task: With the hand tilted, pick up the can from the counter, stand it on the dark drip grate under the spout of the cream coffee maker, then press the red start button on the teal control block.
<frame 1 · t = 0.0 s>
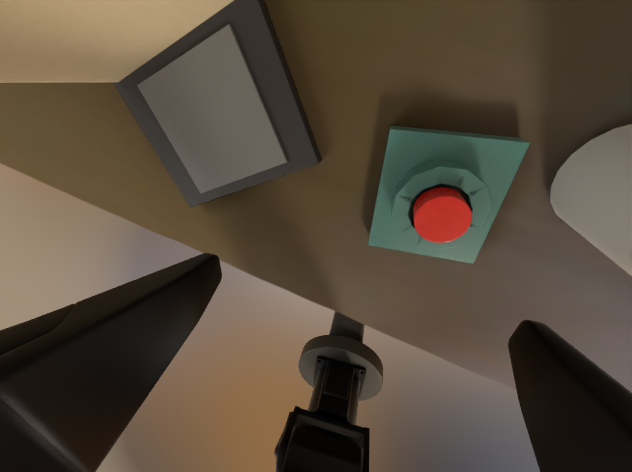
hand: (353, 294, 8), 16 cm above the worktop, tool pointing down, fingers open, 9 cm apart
coffee maker: (221, 121, 23), on the worktop
can: (607, 176, 18), on the worktop
start button: (440, 215, 18), point 4 cm above the worktop, slide at 0.2 cm
control block: (432, 194, 22), on the worktop
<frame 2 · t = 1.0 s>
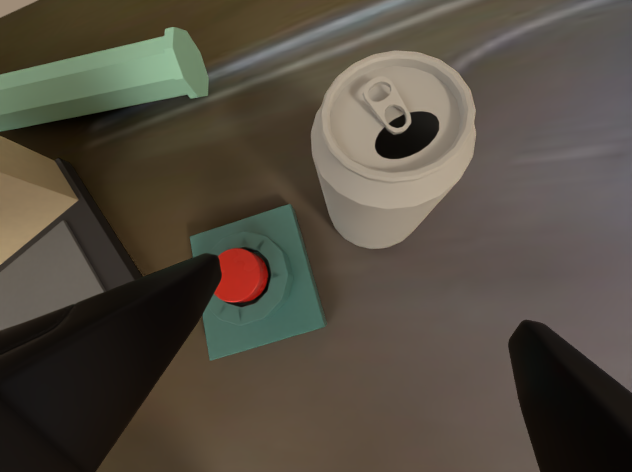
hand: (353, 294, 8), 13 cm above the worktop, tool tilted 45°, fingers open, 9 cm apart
container: (104, 106, 29), on the worktop
coffee maker: (58, 297, 24), on the worktop
can: (373, 208, 22), on the worktop
start button: (239, 275, 18), point 4 cm above the worktop, slide at 0.2 cm
control block: (259, 279, 22), on the worktop
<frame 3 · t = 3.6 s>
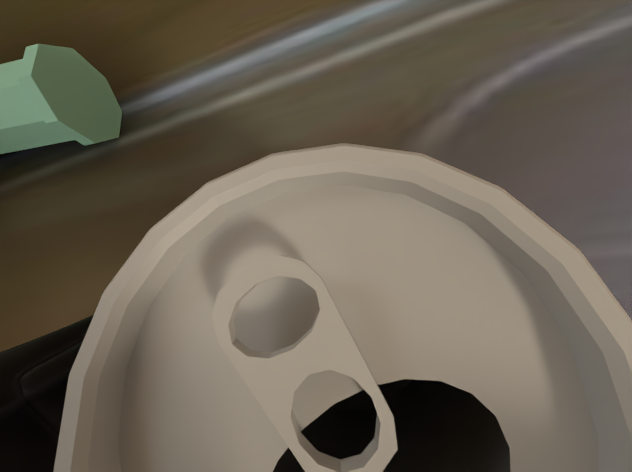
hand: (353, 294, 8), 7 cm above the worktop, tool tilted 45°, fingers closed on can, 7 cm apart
can: (347, 324, 14), on the worktop, touching gripper
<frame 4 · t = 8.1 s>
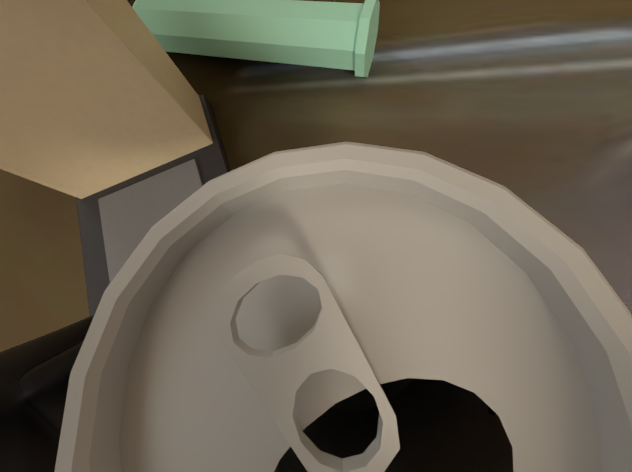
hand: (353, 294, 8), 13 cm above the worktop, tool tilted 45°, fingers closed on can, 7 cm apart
container: (256, 55, 28), on the worktop
coffee maker: (167, 230, 24), on the worktop
can: (347, 324, 14), point 6 cm above the worktop, touching gripper
when the fingers open (8 cm above the worktop, at t = 13.0 s): can stays where it is, resting on coffee maker.
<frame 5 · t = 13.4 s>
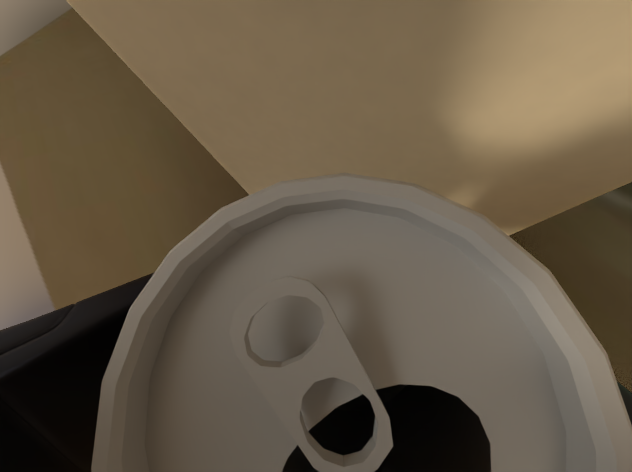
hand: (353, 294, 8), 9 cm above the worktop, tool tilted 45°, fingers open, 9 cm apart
coffee maker: (348, 322, 16), on the worktop
can: (347, 326, 14), point 1 cm above the worktop, touching coffee maker
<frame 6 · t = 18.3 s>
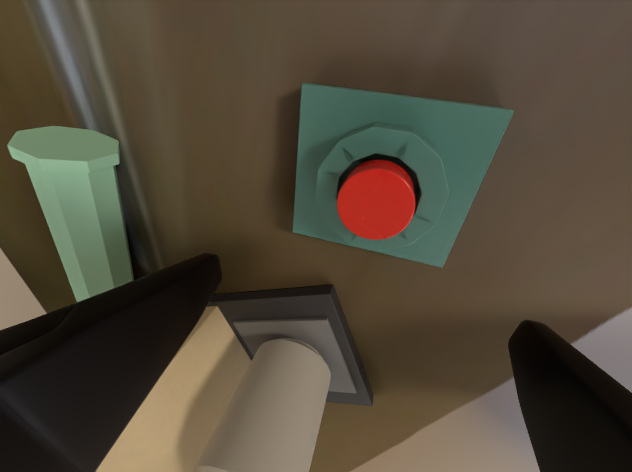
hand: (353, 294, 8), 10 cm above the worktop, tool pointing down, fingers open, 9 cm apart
container: (125, 252, 28), on the worktop
coffee maker: (299, 345, 27), on the worktop
can: (296, 356, 26), point 1 cm above the worktop, touching coffee maker
start button: (375, 200, 13), point 4 cm above the worktop, slide at 0.2 cm
control block: (380, 176, 16), on the worktop
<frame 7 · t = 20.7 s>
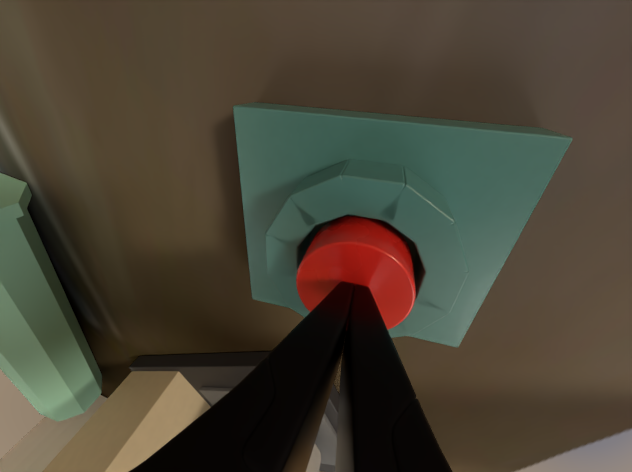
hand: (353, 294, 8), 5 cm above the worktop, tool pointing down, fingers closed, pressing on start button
container: (69, 306, 23), on the worktop
coffee maker: (283, 410, 22), on the worktop
bottle: (111, 412, 35), on the worktop
start button: (355, 275, 9), point 4 cm above the worktop, slide at -0.2 cm, touching gripper
control block: (365, 224, 12), on the worktop
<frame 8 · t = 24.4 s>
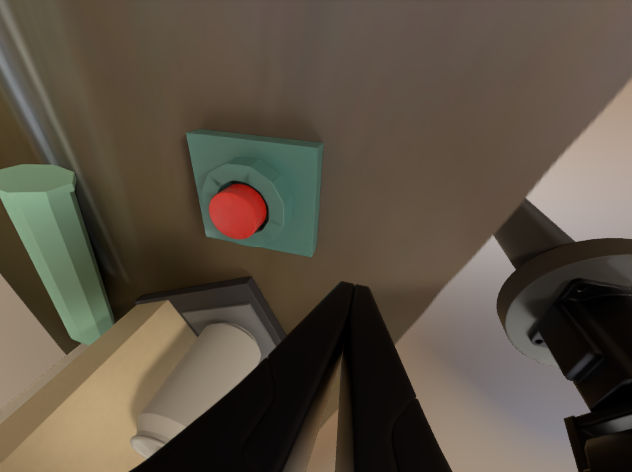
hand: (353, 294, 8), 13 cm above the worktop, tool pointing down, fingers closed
container: (93, 260, 33), on the worktop
coffee maker: (240, 329, 33), on the worktop
can: (236, 338, 31), point 1 cm above the worktop, touching coffee maker
bottle: (119, 355, 46), on the worktop
start button: (238, 211, 18), point 4 cm above the worktop, slide at 0.2 cm
control block: (262, 191, 22), on the worktop
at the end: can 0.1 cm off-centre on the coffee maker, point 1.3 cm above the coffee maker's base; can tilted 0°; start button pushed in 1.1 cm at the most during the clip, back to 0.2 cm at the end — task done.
